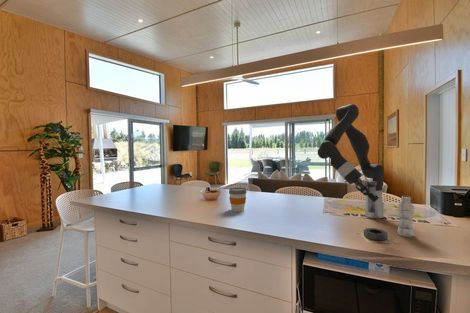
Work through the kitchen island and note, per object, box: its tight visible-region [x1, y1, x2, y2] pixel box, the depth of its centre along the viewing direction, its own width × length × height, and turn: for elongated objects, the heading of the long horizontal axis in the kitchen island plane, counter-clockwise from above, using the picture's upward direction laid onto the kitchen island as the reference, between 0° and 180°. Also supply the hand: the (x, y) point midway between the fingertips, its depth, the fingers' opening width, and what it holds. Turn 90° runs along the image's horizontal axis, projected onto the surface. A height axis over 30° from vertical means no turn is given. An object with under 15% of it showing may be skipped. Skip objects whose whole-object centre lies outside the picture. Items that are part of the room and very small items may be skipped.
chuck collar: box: [363, 227, 388, 241], centre depth 116 cm, size 9×9×3 cm
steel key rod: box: [366, 180, 377, 213], centre depth 117 cm, size 4×4×15 cm
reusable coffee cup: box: [228, 187, 247, 212], centre depth 175 cm, size 13×13×15 cm
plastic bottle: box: [396, 195, 415, 238], centre depth 119 cm, size 6×7×20 cm
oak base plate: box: [356, 232, 396, 244], centre depth 116 cm, size 12×12×1 cm
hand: (376, 199), depth 116 cm, fingers closed on steel key rod, 3 cm apart
